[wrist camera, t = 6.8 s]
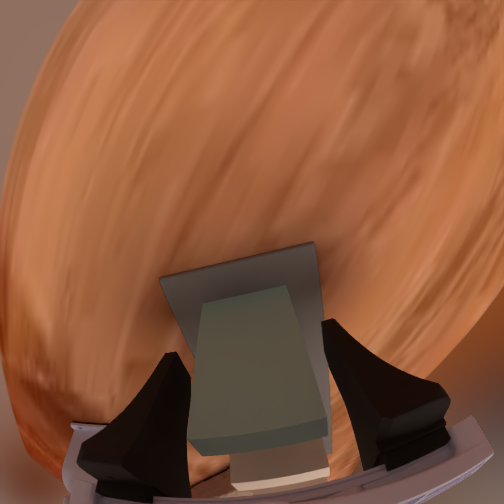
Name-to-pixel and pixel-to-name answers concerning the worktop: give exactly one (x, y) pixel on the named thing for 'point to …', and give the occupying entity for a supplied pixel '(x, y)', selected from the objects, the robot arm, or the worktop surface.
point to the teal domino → (253, 377)
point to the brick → (218, 488)
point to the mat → (252, 280)
